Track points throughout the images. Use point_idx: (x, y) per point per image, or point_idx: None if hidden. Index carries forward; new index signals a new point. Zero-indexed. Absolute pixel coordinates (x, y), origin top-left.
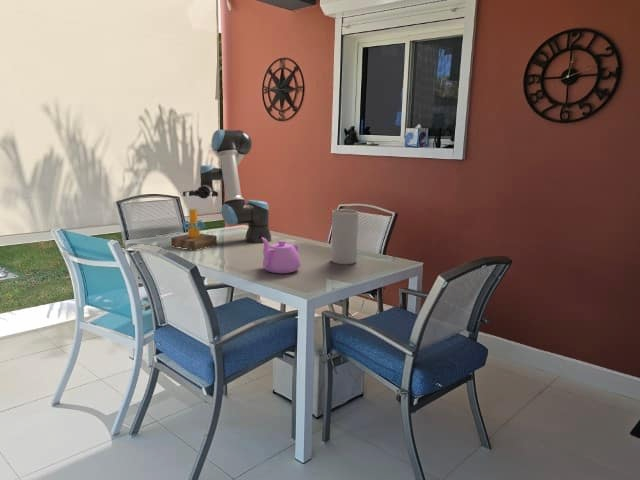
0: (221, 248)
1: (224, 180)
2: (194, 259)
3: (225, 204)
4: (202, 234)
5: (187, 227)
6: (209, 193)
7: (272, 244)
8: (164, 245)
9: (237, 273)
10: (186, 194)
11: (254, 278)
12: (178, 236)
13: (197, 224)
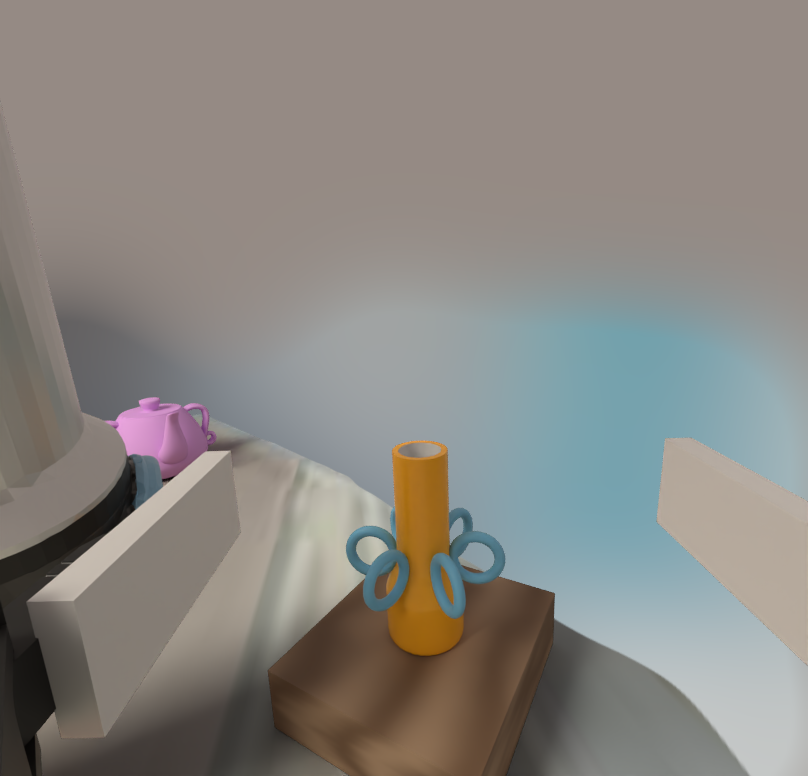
0: (262, 635)
1: (29, 215)
2: (381, 510)
3: (143, 458)
4: (379, 709)
5: (469, 572)
6: (230, 456)
7: (169, 412)
8: (631, 682)
9: (272, 455)
10: (666, 465)
11: (245, 444)
12: (536, 632)
13: (395, 544)
